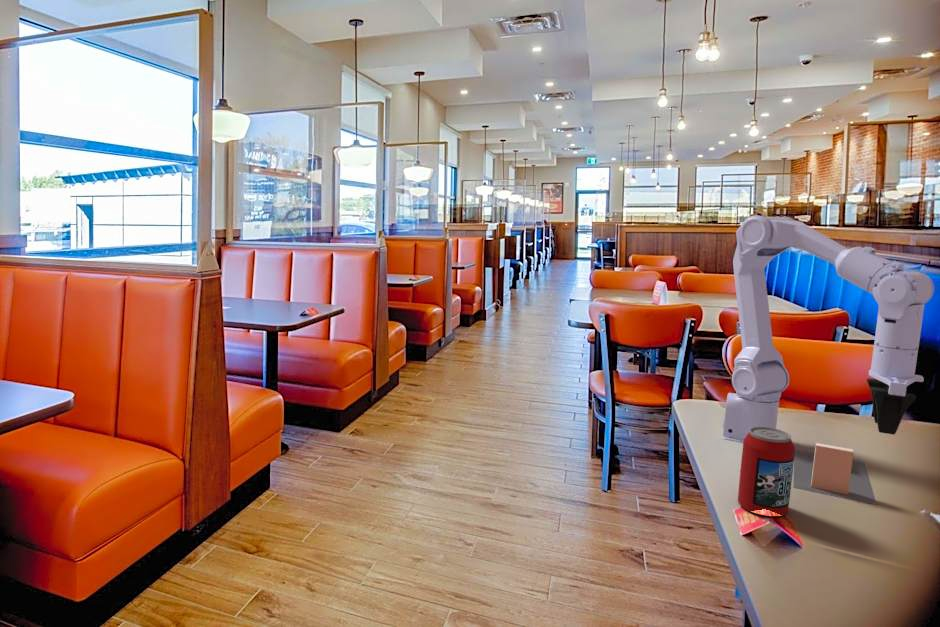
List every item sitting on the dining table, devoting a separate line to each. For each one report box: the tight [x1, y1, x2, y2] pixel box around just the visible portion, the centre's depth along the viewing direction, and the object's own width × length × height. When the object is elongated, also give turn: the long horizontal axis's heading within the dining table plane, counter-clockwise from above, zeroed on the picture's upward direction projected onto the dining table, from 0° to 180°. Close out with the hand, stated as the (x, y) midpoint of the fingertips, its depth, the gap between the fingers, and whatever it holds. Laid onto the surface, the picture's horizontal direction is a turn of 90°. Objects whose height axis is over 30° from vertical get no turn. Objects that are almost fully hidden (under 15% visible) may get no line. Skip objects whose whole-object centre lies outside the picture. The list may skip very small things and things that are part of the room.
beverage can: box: [737, 427, 796, 517], centre depth 85 cm, size 7×7×12 cm
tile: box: [811, 442, 854, 495], centre depth 92 cm, size 5×1×7 cm, turn 60°
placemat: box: [793, 449, 877, 506], centre depth 98 cm, size 11×19×1 cm, turn 150°
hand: (884, 428), depth 93 cm, fingers open, 5 cm apart
